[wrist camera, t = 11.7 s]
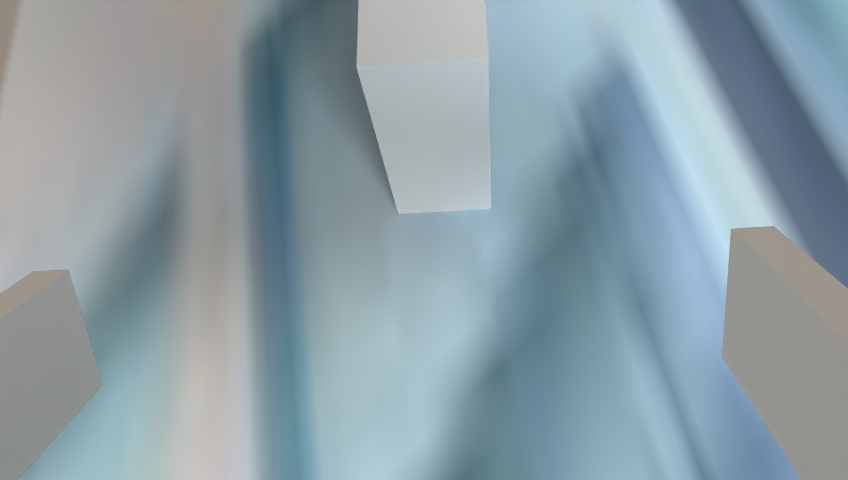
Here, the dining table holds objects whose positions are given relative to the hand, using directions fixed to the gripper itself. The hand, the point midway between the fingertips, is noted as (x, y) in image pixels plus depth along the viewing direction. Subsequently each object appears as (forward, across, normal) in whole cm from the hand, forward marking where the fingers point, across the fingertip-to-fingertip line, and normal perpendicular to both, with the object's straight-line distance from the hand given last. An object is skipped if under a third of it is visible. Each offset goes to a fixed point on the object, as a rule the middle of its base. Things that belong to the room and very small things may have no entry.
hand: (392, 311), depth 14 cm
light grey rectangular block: (+22, 0, +3) cm, 22 cm away
